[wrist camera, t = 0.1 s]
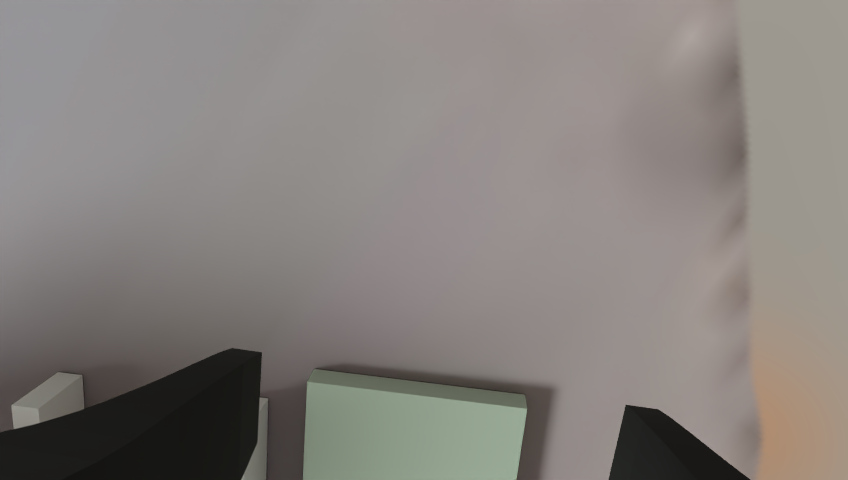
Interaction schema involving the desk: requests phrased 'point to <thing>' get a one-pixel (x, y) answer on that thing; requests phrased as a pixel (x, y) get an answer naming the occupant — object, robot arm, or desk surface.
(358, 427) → the mat
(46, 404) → the parallel rails
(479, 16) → the desk surface
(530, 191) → the desk surface
